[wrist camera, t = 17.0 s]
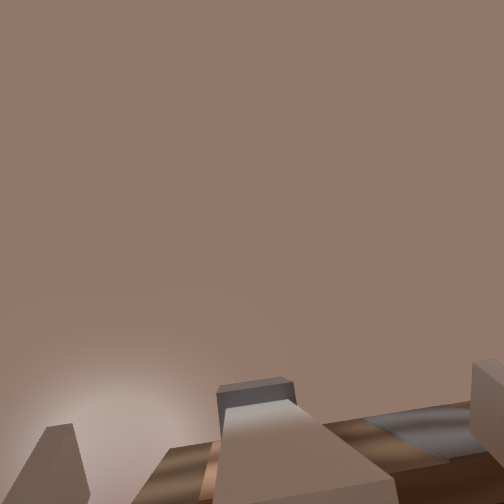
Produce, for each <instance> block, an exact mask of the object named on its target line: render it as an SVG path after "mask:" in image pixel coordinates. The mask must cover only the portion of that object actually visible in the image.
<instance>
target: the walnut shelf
mask: <svg viewBox="0 0 504 504" xmlns="http://www.w3.org/2000/svg"><path fill="white" fill-rule="evenodd" d="M469 417H470V401H467V402H461V403H455V404H448V405H440V406H434V407H427V408H421V409H415V410H409V411H402V412H396V413H390V414H383V415H377V416H371V417H364V418H360V419H353V420H348V421H341V422H334V423H328V424H322V425H323V426H325V427H326V428H327V429H329V430H330V431H331V432H333V433H334V434H335V435H337V436H338V437H339V438H341V439H342V440H343V441H345V442H346V443H347V444H349V445H350V446H351V447H353V448H354V449H355V450H357V451H358V452H359V453H361V454H362V455H363V456H365V457H366V458H367V459H369V460H370V461H371V462H373V463H374V464H375V465H377V466H378V467H379V468H381V469H382V470H383V471H385V472H386V473H387V474H389V475H390V476H391V477H393V478H394V481H395V486H396V491H397V496H398V501H399V504H504V468H503V467H502V466H501V465H500V463H499V462H498V461H497V460H496V459H495V458H494V457H493V456H492V455H491V454H490V453H489V452H488V451H487V450H486V449H485V448H484V446H483V445H482V444H481V443H480V442H479V441H478V440H477V439H476V438H475V437H474V436H473V435H472V434H471V433H470V432H469ZM220 447H221V440H220V441H213V442H209V443H203V444H197V445H190V446H184V447H177V448H171V449H169V451H168V452H167V453H166V455H165V456H164V458H163V459H162V460H161V462H160V463H159V465H158V466H157V468H156V469H155V470H154V472H153V473H152V475H151V476H150V478H149V479H148V481H147V482H146V483H145V485H144V486H143V488H142V489H141V491H140V492H139V493H138V495H137V496H136V498H135V499H134V501H133V502H132V503H131V504H212V503H213V496H214V489H215V482H216V475H217V468H218V461H219V454H220Z"/></svg>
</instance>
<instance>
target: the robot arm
mask: <svg viewBox="0 0 504 504" xmlns="http://www.w3.org/2000/svg"><path fill="white" fill-rule="evenodd" d="M469 432H470V433H471V434H472V435H473V436H474V437H475V438H476V439H477V440H478V441H479V442H480V443H481V444H482V445H483V446H484V448H485V449H486V450H487V451H488V452H489V453H490V454H491V455H492V456H493V457H494V458H495V459H496V460H497V461H498V462H499V463H500V465H501V466H502V467H503V468H504V365H502V364H501V363H499V362H498V361H497V360H495V359H489V360H482V361H475V362H473V367H472V384H471V401H470V417H469ZM89 497H90V491H89V487H88V483H87V479H86V475H85V471H84V468H83V463H82V459H81V456H80V452H79V448H78V444H77V440H76V436H75V432H74V428H73V424H72V423H71V424H64V425H58V426H51V427H46V429H45V431H44V433H43V434H42V436H41V438H40V439H39V441H38V443H37V445H36V446H35V448H34V450H33V452H32V453H31V455H30V457H29V458H28V460H27V462H26V464H25V465H24V467H23V469H22V471H21V472H20V474H19V475H18V478H17V479H16V481H15V482H14V484H13V486H12V488H11V489H10V491H9V493H8V494H7V496H6V498H5V499H4V501H3V503H2V504H87V503H88V500H89Z"/></svg>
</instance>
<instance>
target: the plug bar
mask: <svg viewBox="0 0 504 504" xmlns="http://www.w3.org/2000/svg"><path fill="white" fill-rule="evenodd" d="M217 403H218V413H219V422H220V432H221V447H220V454H219V461H218V468H217V475H216V482H215V489H214V496H213V503H212V504H399V501H398V496H397V491H396V486H395V481H394V478H393V477H391V476H390V475H389V474H387V473H386V472H385V471H383V470H382V469H381V468H379V467H378V466H377V465H375V464H374V463H373V462H371V461H370V460H369V459H367V458H366V457H365V456H363V455H362V454H361V453H359V452H358V451H357V450H355V449H354V448H353V447H351V446H350V445H349V444H347V443H346V442H345V441H343V440H342V439H341V438H339V437H338V436H337V435H335V434H334V433H333V432H331V431H330V430H329V429H327V428H326V427H325V426H323V425H322V424H320V423H319V422H318V421H317V420H315V419H314V418H313V417H311V416H310V415H309V414H307V413H306V412H304V411H303V410H302V409H301V408H299V407H298V406H297V403H296V397H295V390H294V384H293V382H292V381H290V380H287V379H285V378H282V377H276V378H269V379H262V380H255V381H248V382H242V383H235V384H229V385H221V386H220V387H219V389H218V391H217Z"/></svg>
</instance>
